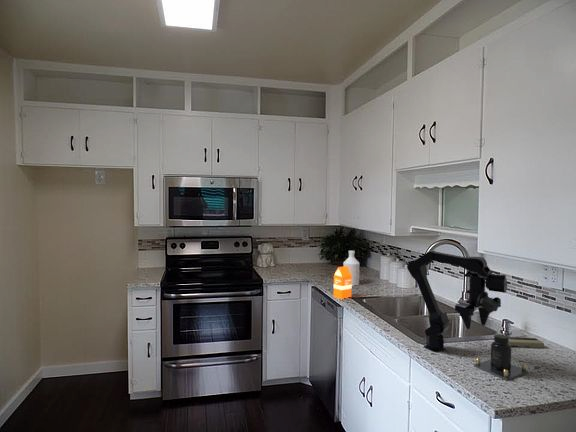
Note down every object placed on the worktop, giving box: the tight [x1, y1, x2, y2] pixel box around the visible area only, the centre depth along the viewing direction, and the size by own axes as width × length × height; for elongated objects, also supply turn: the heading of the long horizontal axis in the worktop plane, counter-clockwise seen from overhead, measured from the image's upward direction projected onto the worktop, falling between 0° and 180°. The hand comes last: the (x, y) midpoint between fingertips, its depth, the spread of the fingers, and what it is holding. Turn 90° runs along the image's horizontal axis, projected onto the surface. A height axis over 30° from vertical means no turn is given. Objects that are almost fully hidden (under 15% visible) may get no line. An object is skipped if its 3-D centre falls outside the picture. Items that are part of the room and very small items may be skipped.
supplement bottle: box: [490, 333, 512, 371], centre depth 145 cm, size 7×7×12 cm
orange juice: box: [333, 266, 353, 300], centre depth 249 cm, size 8×9×20 cm
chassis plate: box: [473, 357, 529, 382], centre depth 145 cm, size 13×13×3 cm
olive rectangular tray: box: [508, 336, 545, 349], centre depth 171 cm, size 16×8×3 cm, turn 86°
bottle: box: [342, 250, 361, 287], centre depth 286 cm, size 12×12×25 cm
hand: (475, 327), depth 155 cm, fingers open, 9 cm apart
